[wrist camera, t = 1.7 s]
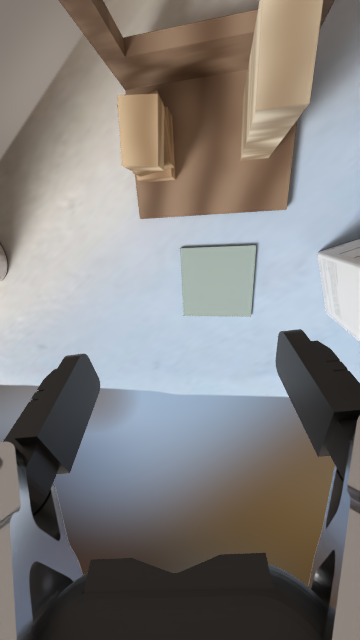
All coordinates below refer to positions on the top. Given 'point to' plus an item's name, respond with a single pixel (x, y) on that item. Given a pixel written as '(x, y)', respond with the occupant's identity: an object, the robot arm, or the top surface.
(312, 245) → the top surface
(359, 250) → the supplement box
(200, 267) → the mat
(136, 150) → the offcut top
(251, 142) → the pale wooden block
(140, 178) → the offcut low
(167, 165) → the offcut mid
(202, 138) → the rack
